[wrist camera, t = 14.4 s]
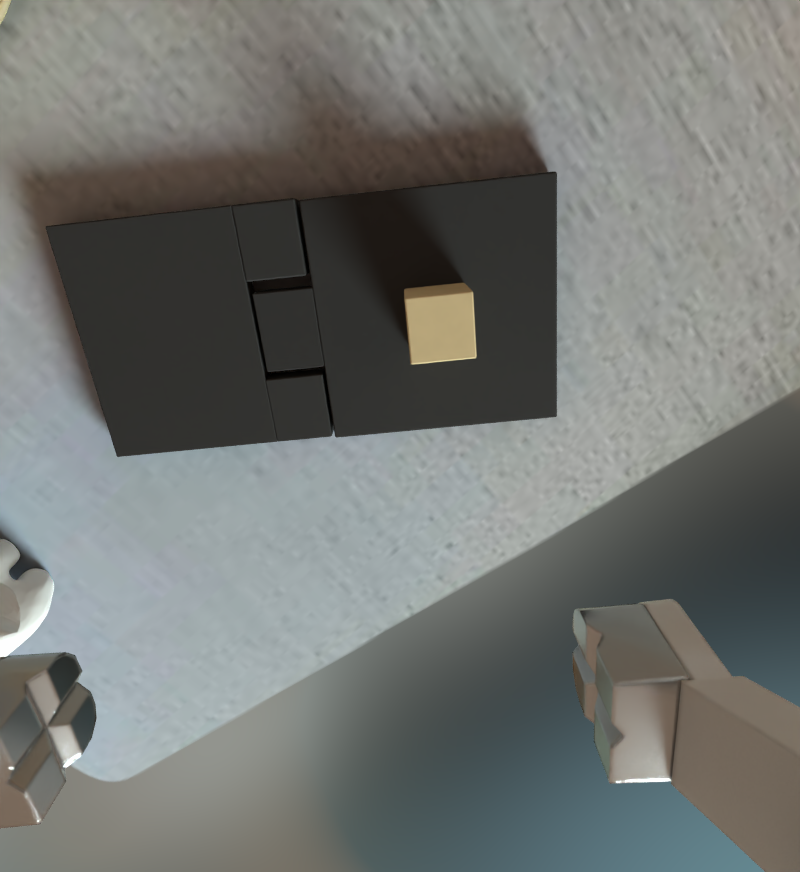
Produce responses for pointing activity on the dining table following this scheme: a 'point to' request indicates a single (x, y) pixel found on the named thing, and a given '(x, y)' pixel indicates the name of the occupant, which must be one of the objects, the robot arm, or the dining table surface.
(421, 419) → the tab pad
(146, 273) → the base pad
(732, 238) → the dining table surface
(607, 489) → the dining table surface
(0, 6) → the tableware set
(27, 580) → the elephant figurine
